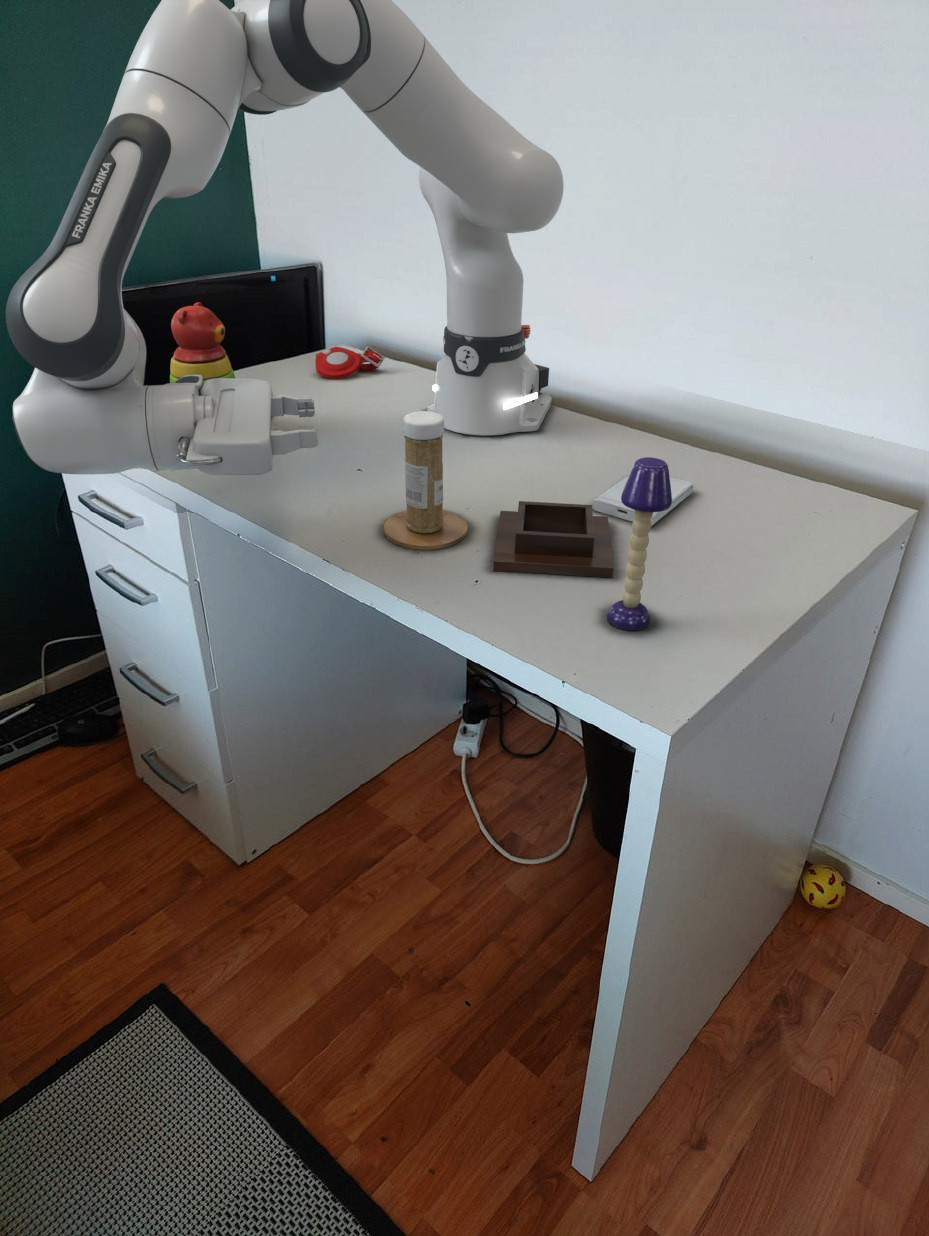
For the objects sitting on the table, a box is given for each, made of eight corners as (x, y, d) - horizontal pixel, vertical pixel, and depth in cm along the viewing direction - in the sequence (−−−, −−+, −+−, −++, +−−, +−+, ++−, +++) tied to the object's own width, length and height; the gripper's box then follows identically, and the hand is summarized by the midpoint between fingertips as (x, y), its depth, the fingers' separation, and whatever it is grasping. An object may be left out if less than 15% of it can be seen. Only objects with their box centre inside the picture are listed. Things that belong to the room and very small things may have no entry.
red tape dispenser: (328, 376, 150) (301, 350, 155) (332, 398, 153) (306, 371, 158) (388, 351, 154) (359, 326, 159) (390, 372, 157) (363, 347, 162)
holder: (500, 519, 105) (501, 492, 104) (606, 525, 105) (610, 498, 103) (493, 570, 95) (494, 541, 93) (612, 577, 94) (616, 548, 92)
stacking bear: (223, 443, 125) (205, 317, 116) (162, 435, 128) (140, 311, 118) (259, 419, 134) (245, 300, 124) (201, 412, 136) (184, 295, 127)
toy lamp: (602, 606, 89) (620, 452, 80) (647, 605, 89) (670, 452, 80) (611, 631, 84) (632, 472, 76) (658, 631, 85) (684, 472, 76)
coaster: (409, 506, 108) (408, 502, 108) (481, 522, 105) (481, 518, 104) (368, 538, 100) (367, 534, 100) (444, 557, 97) (444, 552, 97)
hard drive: (637, 468, 116) (593, 497, 107) (694, 482, 112) (653, 515, 103) (635, 479, 117) (591, 510, 108) (692, 494, 113) (651, 527, 104)
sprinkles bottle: (451, 529, 102) (452, 418, 94) (417, 538, 99) (416, 426, 92) (430, 514, 105) (430, 407, 98) (398, 523, 103) (395, 413, 95)
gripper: (167, 433, 81) (316, 426, 83) (187, 370, 98) (310, 365, 100) (178, 495, 84) (321, 486, 86) (196, 423, 101) (315, 418, 103)
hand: (315, 421), depth 93 cm, fingers open, 8 cm apart
